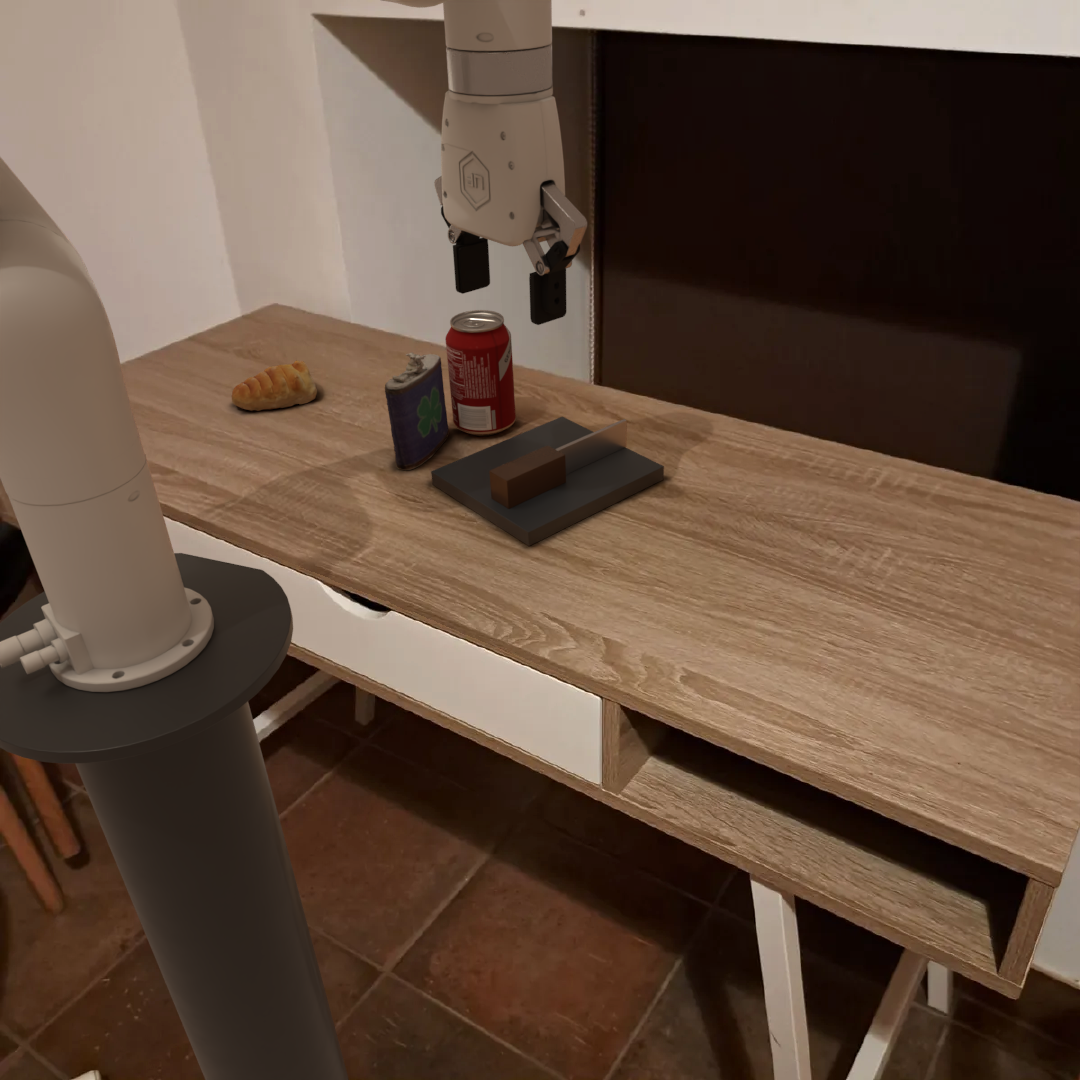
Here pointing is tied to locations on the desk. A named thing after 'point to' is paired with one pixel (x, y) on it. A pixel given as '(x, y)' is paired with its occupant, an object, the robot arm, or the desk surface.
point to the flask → (417, 411)
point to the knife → (552, 465)
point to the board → (558, 505)
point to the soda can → (480, 372)
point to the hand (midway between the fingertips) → (509, 304)
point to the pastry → (276, 388)
